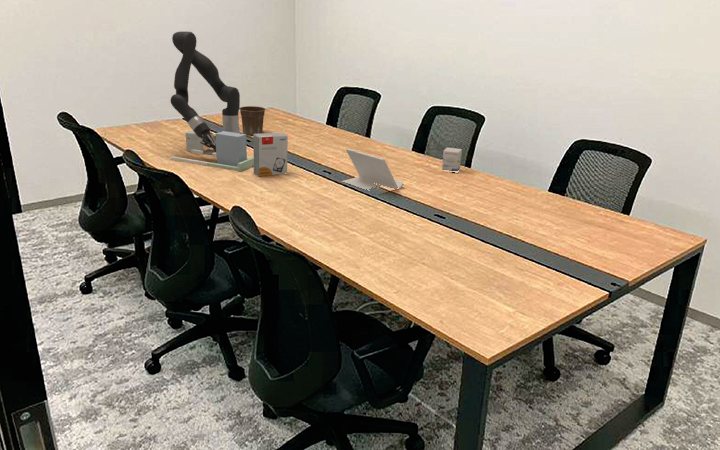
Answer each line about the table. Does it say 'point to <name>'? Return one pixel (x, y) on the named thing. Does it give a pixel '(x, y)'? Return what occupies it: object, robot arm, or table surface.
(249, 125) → the plant pot
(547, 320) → the table surface
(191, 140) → the small box
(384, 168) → the tablet stand
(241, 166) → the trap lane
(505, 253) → the table surface
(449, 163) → the ink box
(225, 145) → the block
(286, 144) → the hard drive box
